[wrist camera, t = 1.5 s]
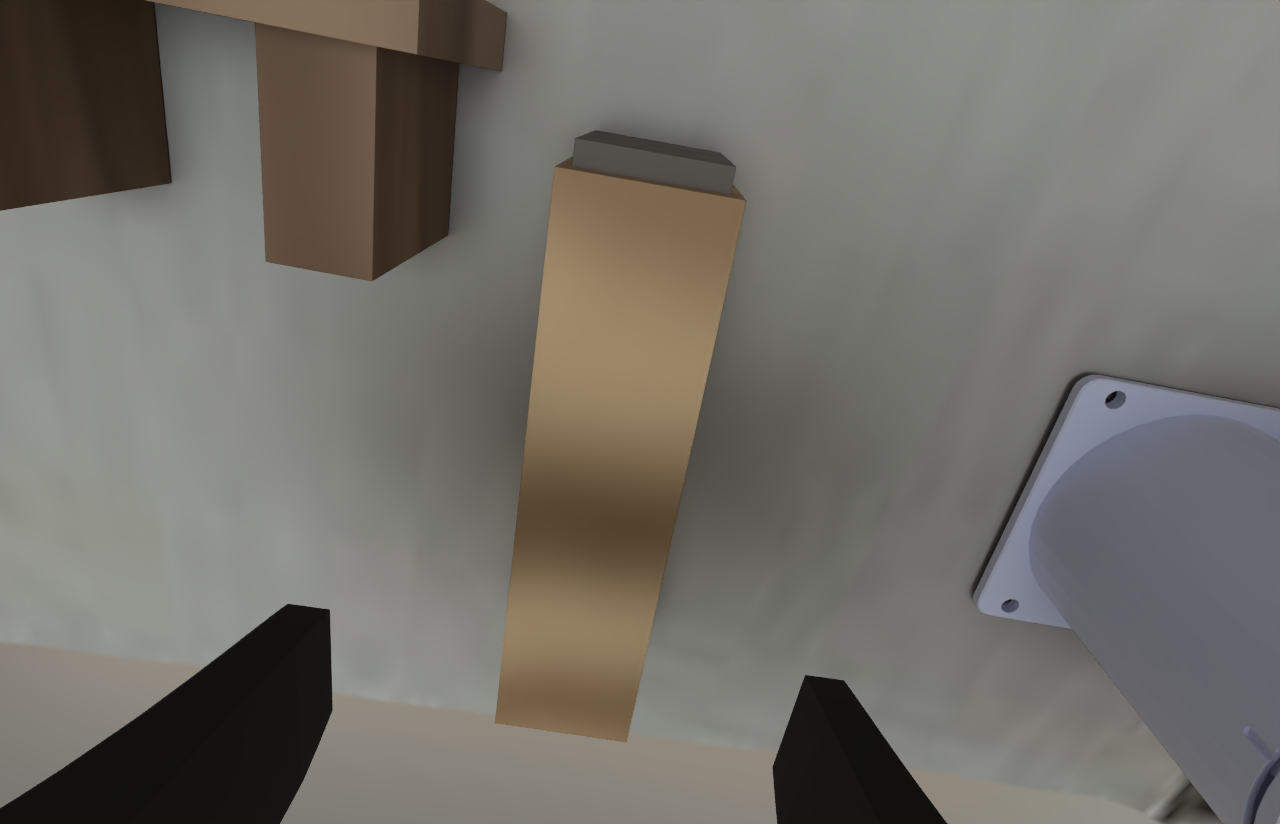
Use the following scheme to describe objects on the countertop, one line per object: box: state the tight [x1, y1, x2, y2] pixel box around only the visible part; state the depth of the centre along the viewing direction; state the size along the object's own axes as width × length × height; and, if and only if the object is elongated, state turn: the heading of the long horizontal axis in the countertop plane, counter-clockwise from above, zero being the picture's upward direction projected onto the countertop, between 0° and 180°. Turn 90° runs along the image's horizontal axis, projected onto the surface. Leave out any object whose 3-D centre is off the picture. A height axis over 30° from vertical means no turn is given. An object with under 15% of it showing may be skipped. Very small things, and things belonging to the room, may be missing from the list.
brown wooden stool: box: [0, 0, 507, 281], centre depth 14 cm, size 11×5×6 cm, turn 80°
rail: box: [495, 131, 746, 742], centre depth 17 cm, size 14×4×5 cm, turn 171°
